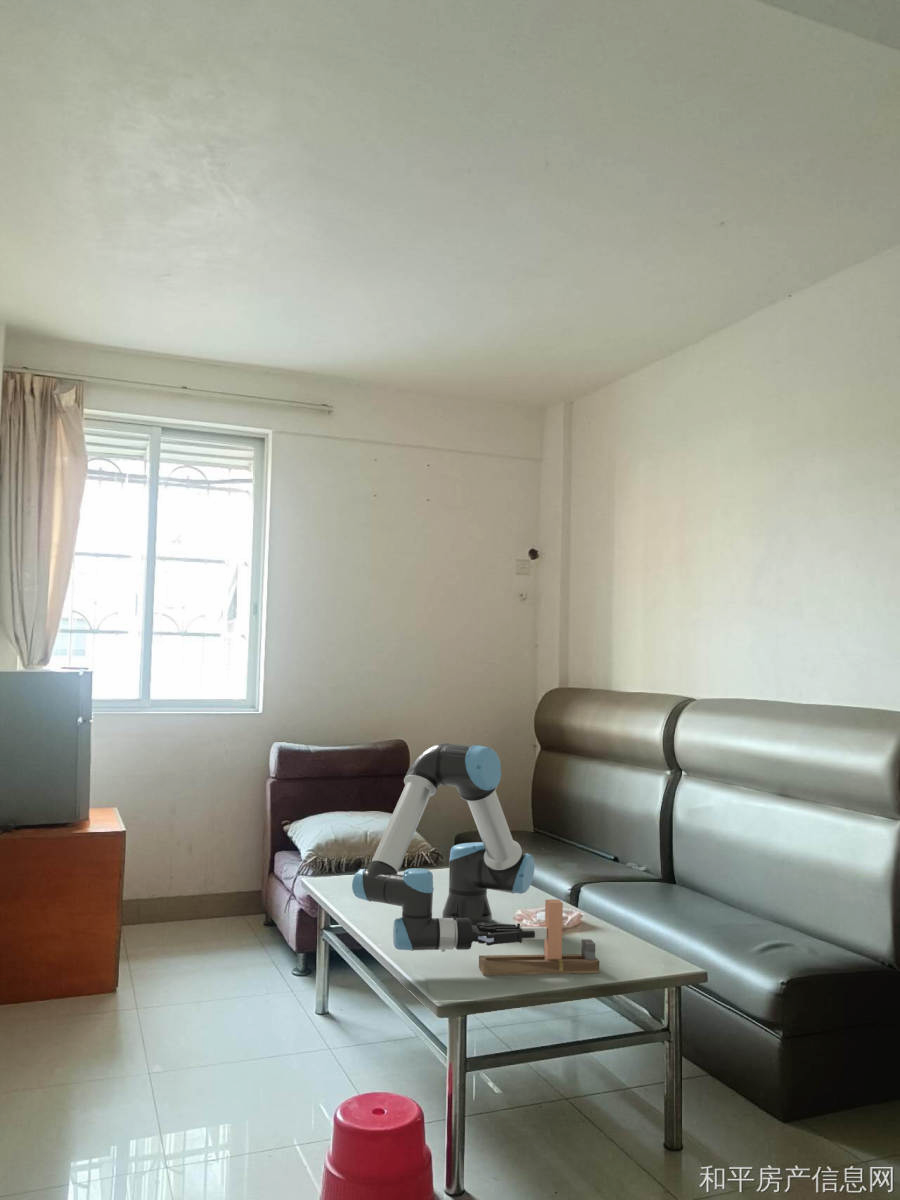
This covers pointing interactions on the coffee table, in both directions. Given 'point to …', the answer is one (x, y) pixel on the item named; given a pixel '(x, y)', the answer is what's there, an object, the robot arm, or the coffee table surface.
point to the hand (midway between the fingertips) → (546, 932)
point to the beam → (541, 963)
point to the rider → (553, 929)
